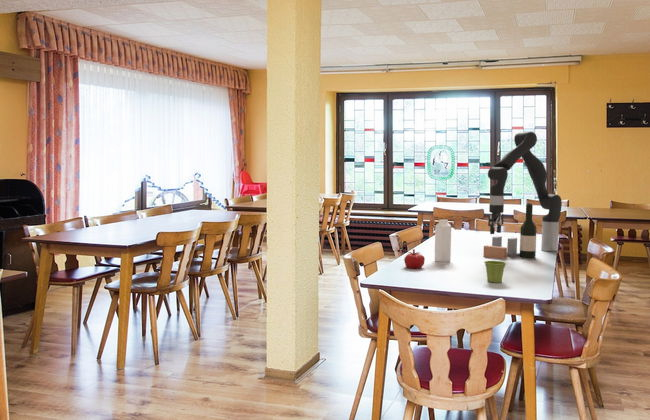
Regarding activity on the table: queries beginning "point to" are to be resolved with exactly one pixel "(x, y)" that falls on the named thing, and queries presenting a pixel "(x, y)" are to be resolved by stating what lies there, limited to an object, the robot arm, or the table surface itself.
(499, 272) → the plant pot
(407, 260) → the red apple
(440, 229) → the milk
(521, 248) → the wine bottle
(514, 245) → the stand
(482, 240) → the table surface
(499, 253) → the rectangular block
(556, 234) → the robot arm
